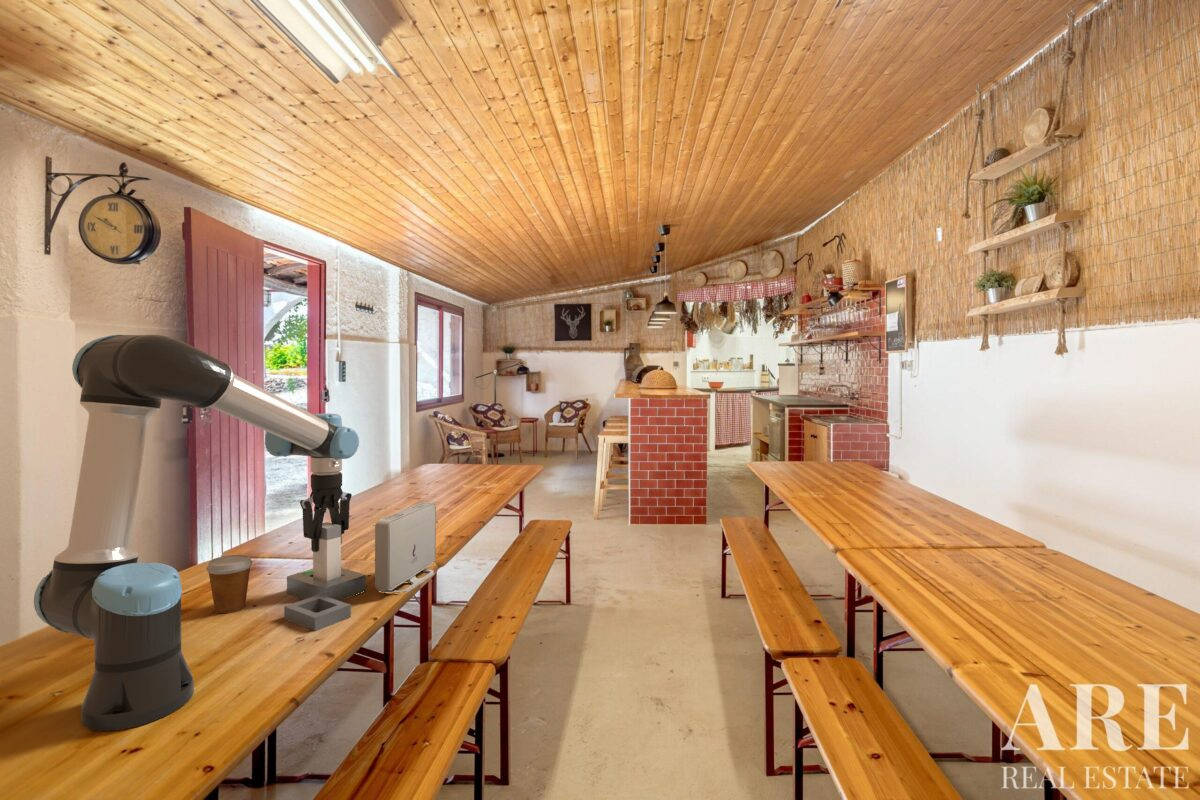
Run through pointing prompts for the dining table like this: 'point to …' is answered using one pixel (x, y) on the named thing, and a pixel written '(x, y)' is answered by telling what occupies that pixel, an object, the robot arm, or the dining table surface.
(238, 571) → the disposable coffee cup
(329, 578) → the plug
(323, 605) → the holder
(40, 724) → the dining table surface
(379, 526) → the network device
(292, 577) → the port block
